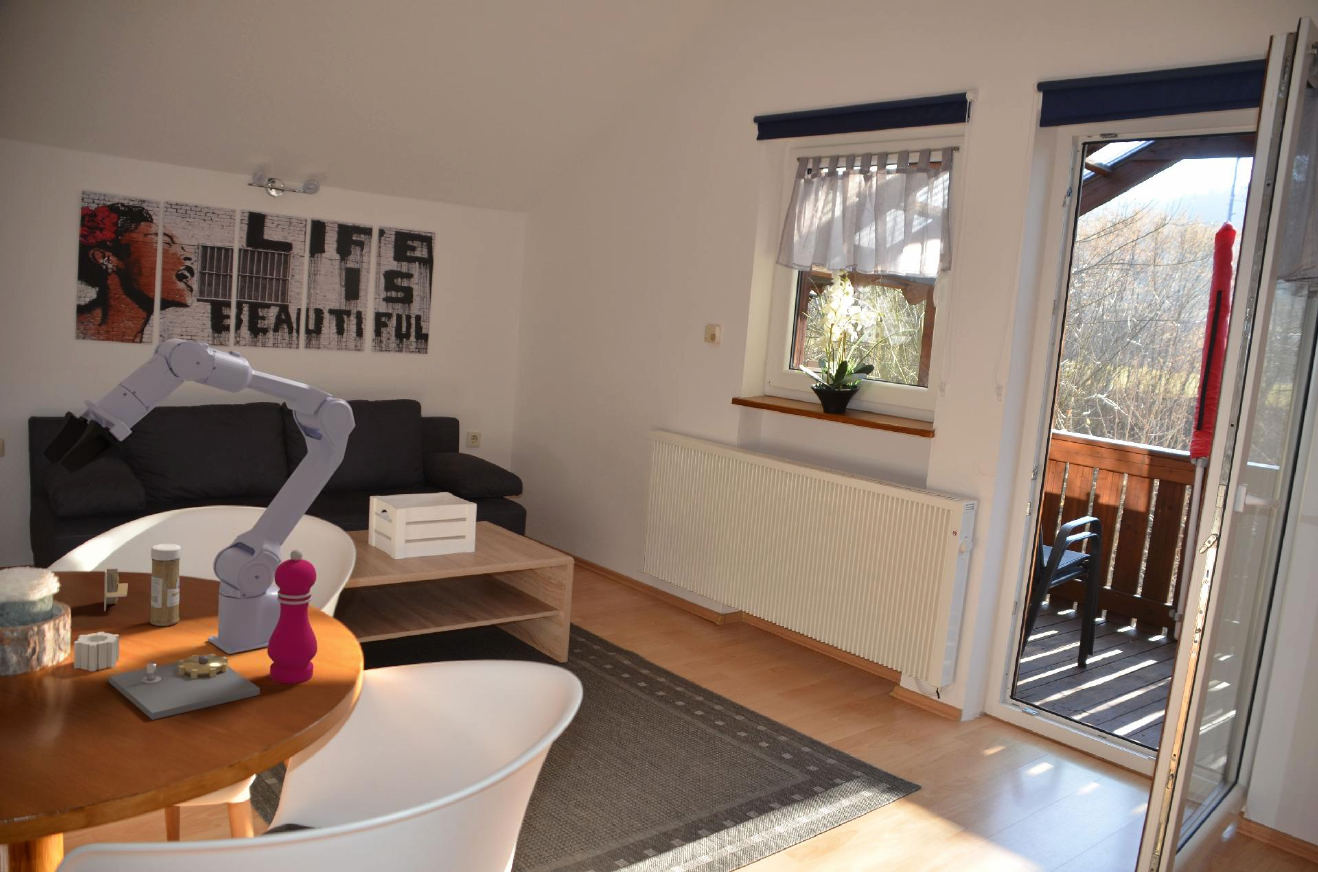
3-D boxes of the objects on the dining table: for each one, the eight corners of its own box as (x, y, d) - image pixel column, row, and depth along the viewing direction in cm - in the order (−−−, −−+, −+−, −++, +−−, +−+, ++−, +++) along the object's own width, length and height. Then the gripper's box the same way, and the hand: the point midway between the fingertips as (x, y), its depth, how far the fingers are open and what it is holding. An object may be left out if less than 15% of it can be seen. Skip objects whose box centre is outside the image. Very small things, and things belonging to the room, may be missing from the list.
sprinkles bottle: (181, 625, 173) (183, 548, 171) (151, 628, 171) (153, 550, 169) (177, 617, 177) (178, 542, 175) (147, 619, 174) (149, 543, 173)
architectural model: (127, 602, 183) (128, 562, 182) (126, 614, 177) (126, 573, 176) (105, 603, 182) (106, 563, 181) (103, 615, 176) (104, 574, 175)
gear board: (211, 661, 159) (212, 639, 159) (259, 694, 148) (260, 671, 148) (108, 681, 148) (109, 658, 148) (152, 719, 137) (152, 695, 137)
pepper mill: (269, 687, 151) (274, 556, 149) (263, 669, 158) (268, 544, 155) (319, 682, 155) (325, 555, 152) (312, 665, 161) (317, 542, 158)
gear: (111, 654, 158) (111, 629, 158) (124, 665, 154) (125, 640, 154) (68, 662, 154) (68, 636, 153) (81, 673, 150) (81, 647, 149)
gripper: (95, 372, 152) (18, 435, 145) (133, 385, 142) (51, 452, 136) (128, 407, 156) (54, 469, 150) (166, 421, 146) (89, 488, 140)
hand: (55, 463), depth 143 cm, fingers open, 7 cm apart
